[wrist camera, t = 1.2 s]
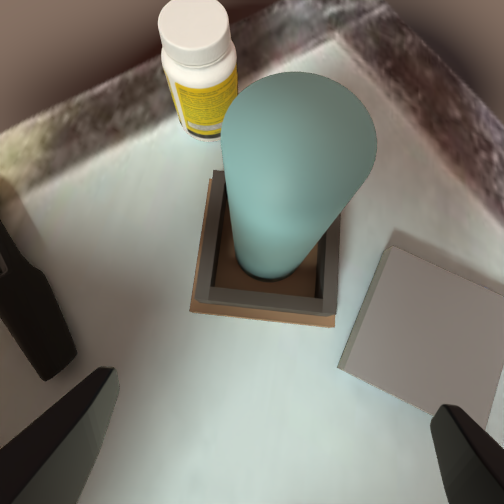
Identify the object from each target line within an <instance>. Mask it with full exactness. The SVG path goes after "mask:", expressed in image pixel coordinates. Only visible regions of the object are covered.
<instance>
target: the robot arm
mask: <svg viewBox="0 0 504 504" xmlns="http://www.w3.org/2000/svg"><path fill="white" fill-rule="evenodd" d="M118 394H119V382H118V376H117V371H116V369H115V368H114V367H106V366H101V367H99V368H97V369H96V370H95V371H94V372H92V373H91V374H90V375H89V376H88V377H86V378H85V379H84V380H83V381H82V382H80V383H79V384H78V385H77V386H76V387H74V388H73V389H72V390H71V391H70V392H68V393H67V394H66V395H65V396H64V397H62V398H61V399H60V400H59V401H58V402H56V403H55V404H54V405H53V406H52V407H50V408H49V409H48V410H47V411H46V412H44V413H43V414H42V415H41V416H40V417H39V418H37V419H36V420H35V421H34V422H33V423H31V424H30V425H29V426H28V427H27V428H25V429H24V430H23V431H22V432H21V433H19V434H18V435H17V436H16V437H15V438H13V439H12V440H11V441H10V442H9V443H7V444H6V445H5V446H4V447H3V448H1V449H0V504H76V503H77V501H78V499H79V497H80V494H81V492H82V490H83V488H84V485H85V483H86V481H87V479H88V477H89V474H90V472H91V470H92V468H93V465H94V463H95V461H96V458H97V456H98V454H99V451H100V448H101V445H102V442H103V439H104V436H105V433H106V430H107V427H108V424H109V421H110V418H111V415H112V412H113V409H114V406H115V403H116V400H117V397H118ZM430 429H431V433H432V438H433V442H434V446H435V451H436V455H437V459H438V464H439V468H440V472H441V477H442V481H443V485H444V489H445V492H446V495H447V499H448V502H449V504H504V449H503V448H502V447H501V446H500V445H499V444H498V443H497V442H496V441H495V440H494V439H493V438H492V437H491V436H490V435H489V434H488V433H487V432H486V431H485V430H484V429H483V428H482V427H481V426H480V425H478V424H477V423H476V422H475V421H474V420H473V419H472V418H471V417H470V416H469V415H468V414H467V413H466V412H465V411H464V410H463V409H462V408H461V407H459V406H457V405H452V404H442V405H441V406H440V407H439V409H438V410H437V412H436V413H435V415H434V417H433V418H432V420H431V423H430Z"/></svg>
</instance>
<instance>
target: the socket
mask: <svg viewBox="0 0 504 504" xmlns="http://www.w3.org/2000/svg"><path fill="white" fill-rule="evenodd" d="M340 216H341V212H340V214H339V215H338V216H337V218H336V219H335V220H334V221H333V223H332V224H331V225H330V227H329V228H328V229H327V230H326V232H325V233H324V234H323V236H322V237H321V238H320V239H319V241H318V242H317V243H316V245H315V246H314V247H313V248H312V250H311V251H310V252H309V254H308V255H307V256H306V257H305V259H304V260H303V261H302V263H301V264H300V265H299V266H298V268H297V269H296V270H295V271H294V272H293V274H291V275H290V276H289V277H287V278H286V279H283V280H281V281H278V282H272V283H267V282H261V281H258V280H255V279H253V278H251V277H250V276H248V275H247V274H246V273H245V272H244V271H243V270H242V269H241V267H240V266H239V264H238V262H237V259H236V255H235V248H234V240H233V233H232V225H231V217H230V210H229V202H228V194H227V187H226V179H225V172H224V171H218V170H213V177H212V179H209V186H208V192H207V199H206V206H205V212H204V219H203V225H202V232H201V238H200V245H199V251H198V258H197V265H196V271H195V278H194V284H193V291H192V297H191V304H190V310H189V311H190V312H193V313H200V314H209V315H218V316H228V317H237V318H246V319H255V320H264V321H273V322H282V323H291V324H300V325H309V326H318V327H327V328H331V327H335V315H336V309H337V286H338V263H339V240H340Z"/></svg>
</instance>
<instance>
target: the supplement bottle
mask: <svg viewBox="0 0 504 504" xmlns="http://www.w3.org/2000/svg"><path fill="white" fill-rule="evenodd" d="M158 28H159V32H160V36H161V40H162V45H163V48H162V54H161V56H162V65H163V69H164V72H165V75H166V78H167V81H168V85H169V88H170V91H171V95H172V98H173V101H174V104H175V108H176V111H177V114H178V117H179V120H180V123H181V126H182V127H183V129H184V130H185V132H186V133H187V134H189V135H190V136H191V137H193V138H195V139H197V140H200V141H204V142H213V141H218V140H221V128H222V123H223V119H224V116H225V114H226V112H227V110H228V108H229V106H230V105H231V103H232V102H233V100H234V99H235V98H236V97H237V96H238V80H237V55H236V50H235V46H234V44H233V42H232V40H231V34H230V28H229V20H228V15H227V12H226V10H225V9H224V7H223V6H222V5H221V4H220V3H219V2H218V1H217V0H171V1H170V2H169V3H168V4H166V5H165V6H164V8H163V9H162V11H161V12H160V15H159V18H158Z"/></svg>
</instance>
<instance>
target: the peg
mask: <svg viewBox="0 0 504 504" xmlns="http://www.w3.org/2000/svg"><path fill="white" fill-rule="evenodd" d="M221 149H222V156H223V164H224V172H225V179H226V187H227V194H228V202H229V210H230V217H231V225H232V233H233V240H234V248H235V255H236V259H237V262H238V264H239V266H240V267H241V269H242V270H243V271H244V272H245V273H246V274H247V275H248V276H250V277H251V278H253V279H255V280H258V281H261V282H267V283H272V282H278V281H281V280H283V279H286V278H287V277H289V276H290V275H291V274H293V272H294V271H295V270H296V269H297V268H298V266H299V265H300V264H301V263H302V261H303V260H304V259H305V257H306V256H307V255H308V254H309V252H310V251H311V250H312V248H313V247H314V246H315V245H316V243H317V242H318V241H319V239H320V238H321V237H322V236H323V234H324V233H325V232H326V230H327V229H328V228H329V227H330V225H331V224H332V223H333V221H334V220H335V219H336V218H337V216H338V215H339V214H340V212H341V211H342V210H343V208H344V207H345V206H346V205H347V203H348V202H349V201H350V199H351V198H352V197H353V196H354V194H355V193H356V192H357V190H358V189H359V188H360V187H361V185H362V184H363V183H364V181H365V180H366V178H367V177H368V175H369V173H370V171H371V170H372V167H373V164H374V161H375V157H376V152H377V138H376V131H375V128H374V124H373V121H372V119H371V117H370V115H369V113H368V111H367V110H366V108H365V106H364V105H363V104H362V103H361V101H360V100H359V99H358V98H357V97H356V96H355V95H354V94H353V93H352V92H351V91H349V90H348V89H347V88H346V87H344V86H342V85H341V84H339V83H337V82H335V81H333V80H331V79H329V78H326V77H323V76H321V75H317V74H312V73H306V72H284V73H278V74H274V75H270V76H267V77H264V78H262V79H260V80H258V81H256V82H254V83H252V84H251V85H249V86H248V87H246V88H245V89H244V90H243V91H242V92H240V93H239V95H238V96H237V97H236V98H235V99H234V100H233V102H232V103H231V105H230V106H229V108H228V110H227V112H226V114H225V116H224V119H223V123H222V128H221Z"/></svg>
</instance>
